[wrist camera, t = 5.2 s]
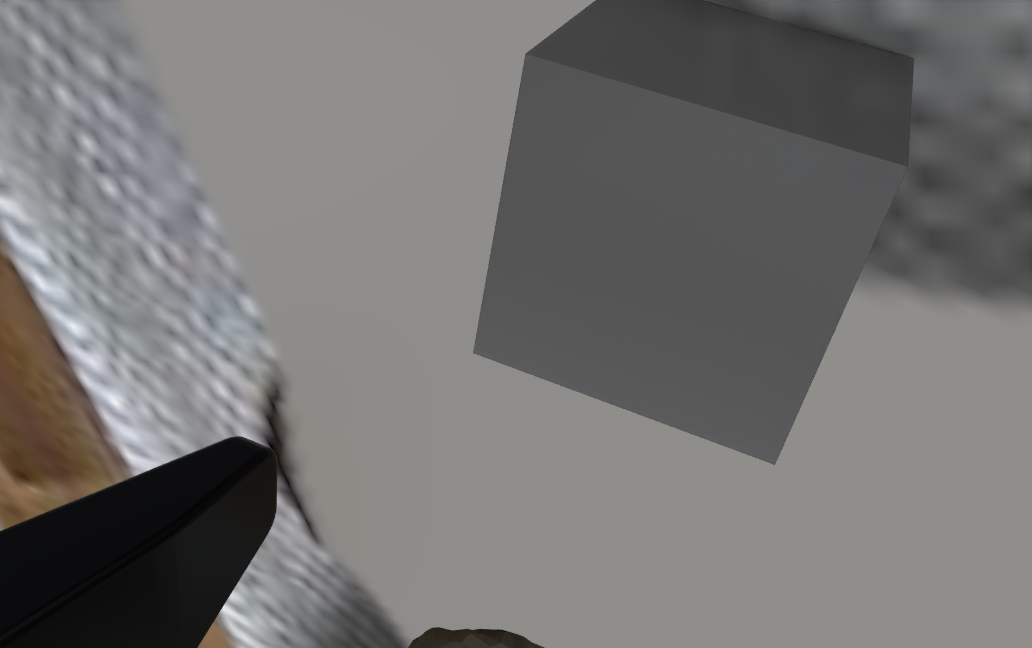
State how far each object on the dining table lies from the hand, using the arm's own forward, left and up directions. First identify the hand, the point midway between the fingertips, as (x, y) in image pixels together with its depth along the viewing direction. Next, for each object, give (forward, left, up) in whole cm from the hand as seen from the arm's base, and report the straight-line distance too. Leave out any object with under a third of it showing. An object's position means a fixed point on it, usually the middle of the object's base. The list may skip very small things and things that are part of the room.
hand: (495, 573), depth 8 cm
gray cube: (0, 0, -11) cm, 11 cm away
